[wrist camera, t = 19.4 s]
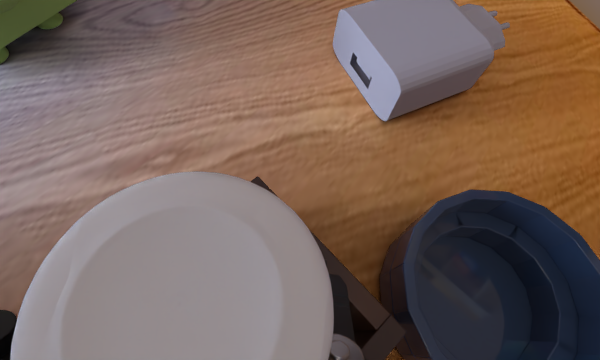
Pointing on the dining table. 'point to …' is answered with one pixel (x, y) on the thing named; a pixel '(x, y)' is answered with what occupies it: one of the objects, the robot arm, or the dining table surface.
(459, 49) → the charger
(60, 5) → the kettle
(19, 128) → the dining table surface
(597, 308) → the bowl
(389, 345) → the box
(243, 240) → the sprinkles bottle
